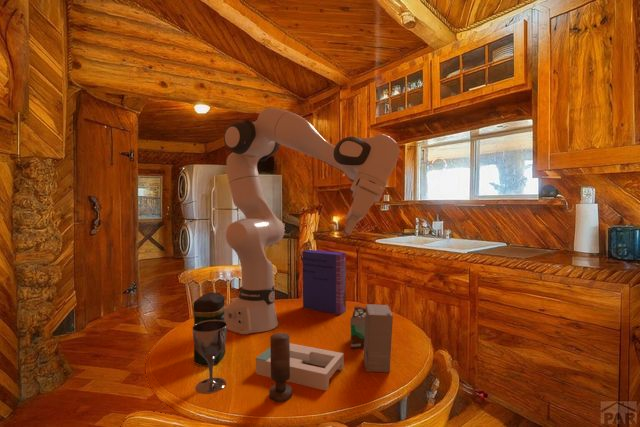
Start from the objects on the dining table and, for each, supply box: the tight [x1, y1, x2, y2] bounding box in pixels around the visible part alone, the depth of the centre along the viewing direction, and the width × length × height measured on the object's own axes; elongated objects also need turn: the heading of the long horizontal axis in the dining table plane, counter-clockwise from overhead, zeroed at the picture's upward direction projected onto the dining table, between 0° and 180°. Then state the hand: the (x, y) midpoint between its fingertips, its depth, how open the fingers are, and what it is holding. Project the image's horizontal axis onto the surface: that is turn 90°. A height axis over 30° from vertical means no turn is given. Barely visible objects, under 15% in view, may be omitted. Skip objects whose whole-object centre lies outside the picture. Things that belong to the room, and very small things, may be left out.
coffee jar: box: [192, 292, 226, 366], centre depth 98 cm, size 10×8×19 cm
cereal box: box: [301, 249, 347, 316], centre depth 140 cm, size 17×5×24 cm, turn 60°
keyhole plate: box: [255, 342, 345, 392], centre depth 91 cm, size 20×12×4 cm, turn 66°
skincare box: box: [362, 303, 394, 373], centre depth 94 cm, size 8×7×16 cm
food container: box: [349, 305, 366, 350], centre depth 108 cm, size 12×6×10 cm, turn 168°
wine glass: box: [192, 320, 228, 395], centre depth 84 cm, size 8×8×15 cm
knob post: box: [268, 332, 293, 403], centre depth 80 cm, size 5×5×14 cm
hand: (346, 234), depth 95 cm, fingers open, 8 cm apart
